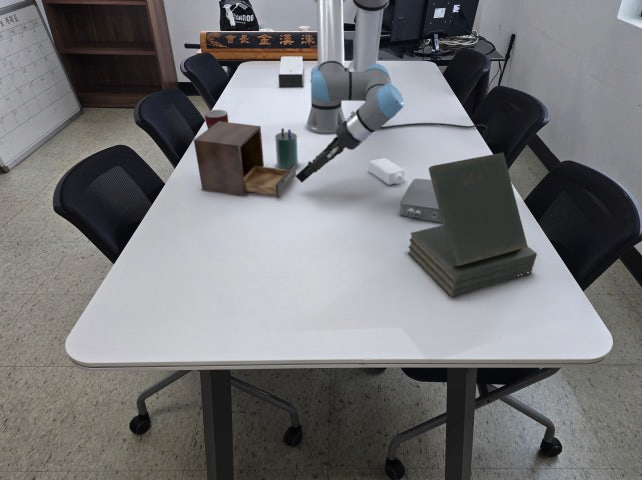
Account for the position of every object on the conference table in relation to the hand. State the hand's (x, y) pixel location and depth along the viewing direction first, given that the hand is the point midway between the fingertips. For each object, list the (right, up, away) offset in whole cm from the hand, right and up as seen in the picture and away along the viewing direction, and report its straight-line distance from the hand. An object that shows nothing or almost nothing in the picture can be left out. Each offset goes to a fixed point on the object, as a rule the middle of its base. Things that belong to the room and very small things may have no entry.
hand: (299, 178), depth 150 cm
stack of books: (+44, -27, -27) cm, 58 cm away
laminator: (-13, +71, +100) cm, 124 cm away
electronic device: (+42, -10, -5) cm, 44 cm away
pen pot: (-5, +8, +17) cm, 19 cm away
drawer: (-10, -1, +4) cm, 11 cm away
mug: (-33, +20, +33) cm, 51 cm away
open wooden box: (-21, 0, +7) cm, 22 cm away
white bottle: (+27, +2, +11) cm, 30 cm away
